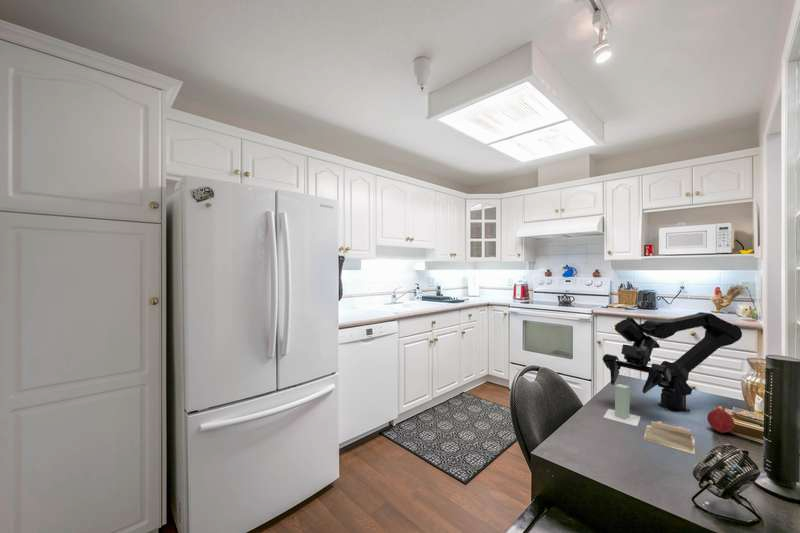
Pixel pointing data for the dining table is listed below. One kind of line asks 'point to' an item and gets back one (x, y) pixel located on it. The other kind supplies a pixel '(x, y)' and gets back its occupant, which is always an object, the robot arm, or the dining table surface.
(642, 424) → the dining table surface
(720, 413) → the onion
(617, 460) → the dining table surface
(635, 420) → the mat
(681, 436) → the offcut rack
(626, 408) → the pale green rectangular block
